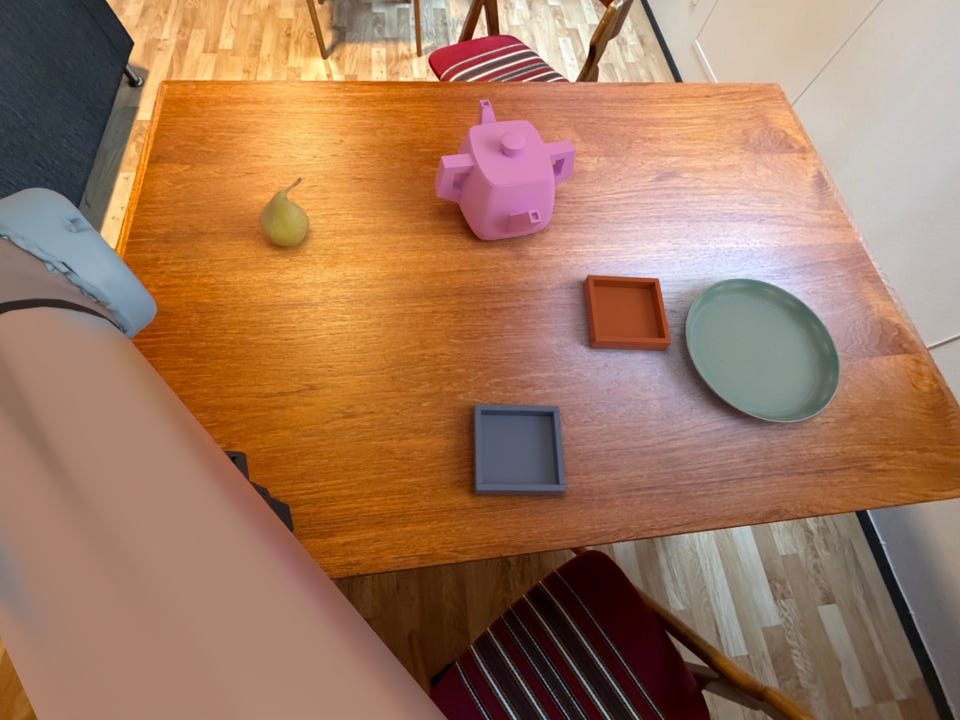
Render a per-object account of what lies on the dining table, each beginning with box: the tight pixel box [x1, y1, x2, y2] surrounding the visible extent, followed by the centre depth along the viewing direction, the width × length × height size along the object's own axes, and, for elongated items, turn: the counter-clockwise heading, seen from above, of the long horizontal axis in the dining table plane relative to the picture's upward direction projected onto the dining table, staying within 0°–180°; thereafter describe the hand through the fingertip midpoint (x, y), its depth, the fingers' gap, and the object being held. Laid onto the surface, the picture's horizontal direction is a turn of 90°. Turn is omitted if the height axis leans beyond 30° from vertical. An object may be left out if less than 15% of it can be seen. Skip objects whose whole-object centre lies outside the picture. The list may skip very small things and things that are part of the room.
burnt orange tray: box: [582, 274, 672, 352], centre depth 85 cm, size 12×12×3 cm
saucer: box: [684, 278, 841, 423], centre depth 84 cm, size 24×24×3 cm
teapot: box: [433, 99, 577, 241], centre depth 86 cm, size 19×18×15 cm
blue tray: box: [472, 403, 567, 496], centre depth 73 cm, size 12×12×3 cm
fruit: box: [259, 177, 310, 248], centre depth 80 cm, size 7×8×12 cm
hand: (230, 565), depth 48 cm, fingers open, 13 cm apart
